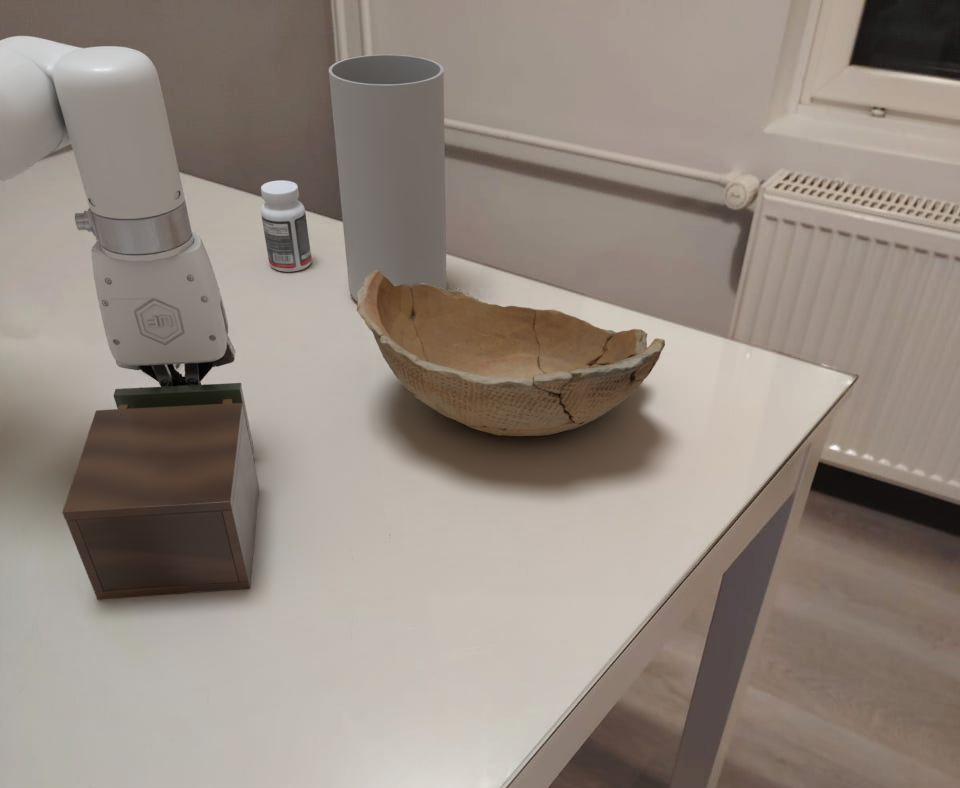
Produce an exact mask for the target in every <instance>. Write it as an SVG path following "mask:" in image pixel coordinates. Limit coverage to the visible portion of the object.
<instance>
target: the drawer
mask: <svg viewBox="0 0 960 788" xmlns="http://www.w3.org/2000/svg"><path fill="white" fill-rule="evenodd" d="M113 399H114V401H115V405H116V409H133V408H152V407H172V406H191V405H211V404H230V403H242V405H243V410H244V415H245V420H246V425H247V430H248V435H249V440H250V445H251V450H252V455H253V456H254V452H255V451H254V450H255V448H254V442H253V438H252V433H251V427H250V422H249V418H248V412H247V406H246V402H245V397H244V391H243V386H242V382H228V383H208V384H207V383H206V384H201V385H186V386H165V387H161V386H147V387H129V388H128V387H127V388H115V389H114V392H113Z"/></svg>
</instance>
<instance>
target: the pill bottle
mask: <svg viewBox="0 0 960 788" xmlns="http://www.w3.org/2000/svg"><path fill="white" fill-rule="evenodd" d="M260 192H261V199H262V200H263V201H264V203H263V205H262V206H261V208H260V216H261V222H262V227H263V234H264V241H265V246H266V247H265V248H266V252H267V253H266V254H267V259H268V263H269V266H270V267H271V268H272V269H274V270H276V271H279V272H282V273H283V272H284V273H287V272H288V273H292V272H293V273H294V272H299V271H302V270H305V269H306V268H308V267H309V266H310V265H311V263H312V253H311V243H310V236H309V230H308V229H309V228H308V221H307V215H306V209H305V206H304V204H303V203H302V202H301V201H300V200H299V197H300V192H299V186H298V183H296V182H293V181H290V180H284V179H283V180H282V179H280V180H272V181H267V182H265V183H263V184H262V185H261V186H260Z"/></svg>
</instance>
